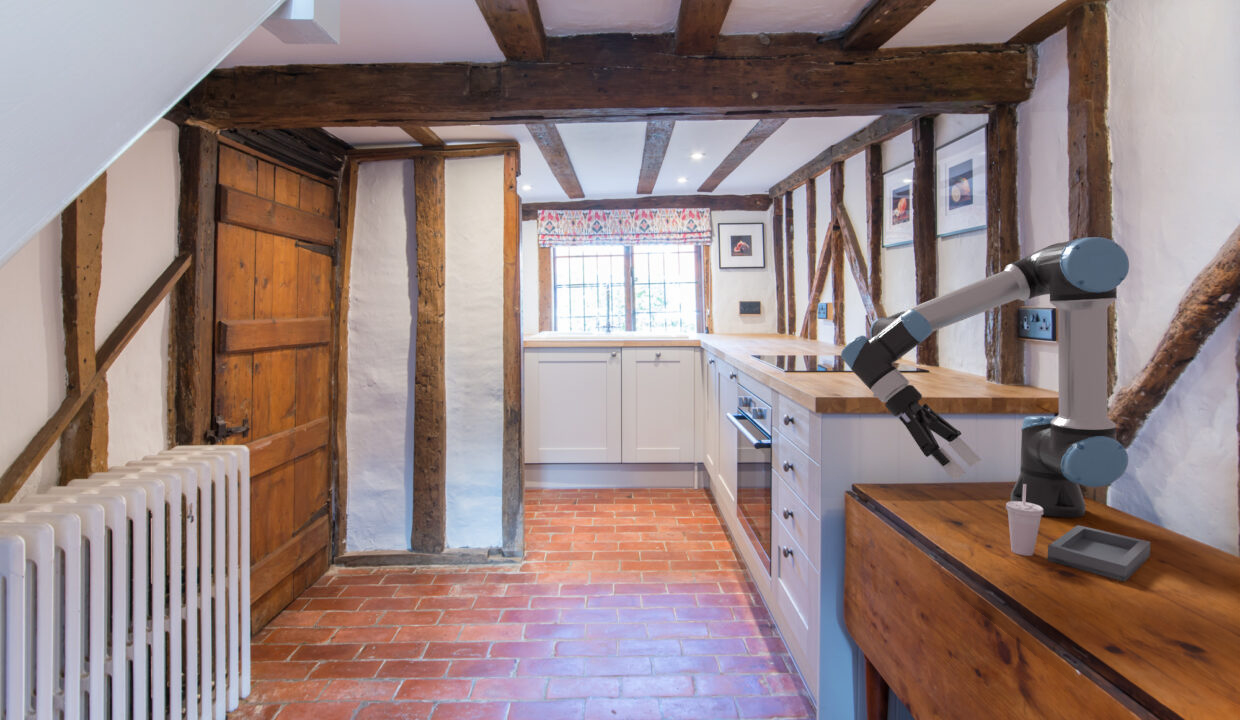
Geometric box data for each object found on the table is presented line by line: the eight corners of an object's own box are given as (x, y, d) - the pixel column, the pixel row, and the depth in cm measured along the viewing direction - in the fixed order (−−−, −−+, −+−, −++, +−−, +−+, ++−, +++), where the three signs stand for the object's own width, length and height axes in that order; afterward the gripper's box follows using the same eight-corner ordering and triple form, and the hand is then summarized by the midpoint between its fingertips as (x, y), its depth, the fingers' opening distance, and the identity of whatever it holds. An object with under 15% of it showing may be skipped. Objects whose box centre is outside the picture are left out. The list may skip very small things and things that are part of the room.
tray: (1076, 538, 129) (1077, 524, 129) (1149, 556, 119) (1150, 541, 119) (1047, 560, 118) (1048, 545, 118) (1124, 582, 108) (1126, 566, 108)
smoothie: (1035, 547, 124) (1038, 482, 123) (1046, 560, 118) (1049, 491, 117) (999, 544, 126) (1003, 479, 125) (1008, 556, 120) (1011, 488, 119)
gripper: (902, 397, 148) (968, 467, 139) (864, 411, 129) (937, 492, 120) (926, 378, 144) (995, 449, 135) (890, 389, 125) (968, 471, 116)
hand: (968, 469), depth 128 cm, fingers open, 13 cm apart
